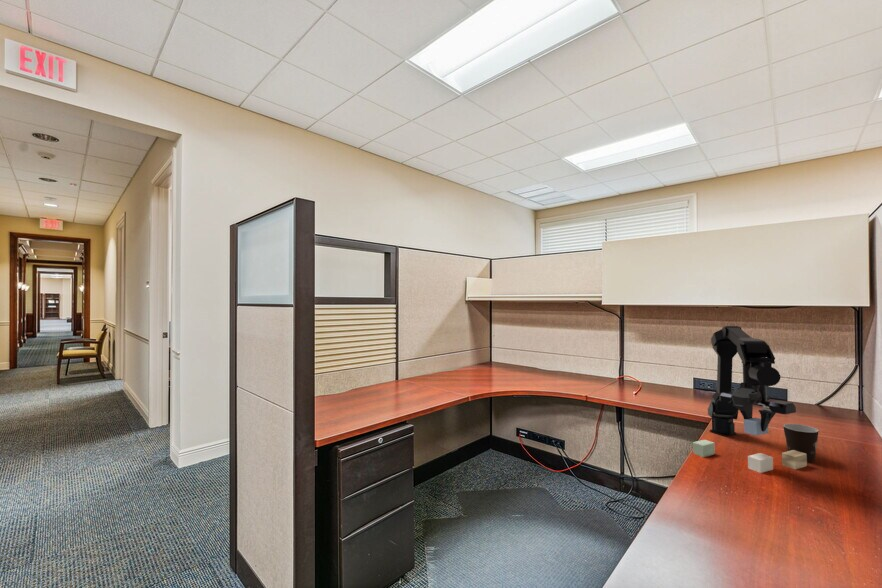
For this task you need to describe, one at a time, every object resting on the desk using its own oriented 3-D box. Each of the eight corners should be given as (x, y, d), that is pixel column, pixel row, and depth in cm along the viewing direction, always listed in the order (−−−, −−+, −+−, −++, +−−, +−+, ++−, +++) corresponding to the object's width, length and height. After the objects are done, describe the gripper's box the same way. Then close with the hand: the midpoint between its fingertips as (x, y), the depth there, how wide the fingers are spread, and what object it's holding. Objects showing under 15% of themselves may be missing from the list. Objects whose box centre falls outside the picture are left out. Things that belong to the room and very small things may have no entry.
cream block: (748, 468, 123) (747, 456, 123) (760, 465, 125) (760, 452, 125) (760, 473, 119) (760, 460, 119) (773, 469, 122) (772, 457, 122)
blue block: (744, 432, 124) (743, 419, 124) (756, 429, 126) (755, 417, 126) (756, 435, 121) (756, 422, 121) (768, 433, 123) (768, 420, 123)
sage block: (693, 453, 135) (692, 442, 135) (704, 450, 137) (704, 439, 137) (703, 457, 132) (702, 445, 132) (714, 454, 134) (714, 442, 134)
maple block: (782, 465, 124) (781, 452, 124) (793, 462, 127) (793, 449, 127) (795, 469, 121) (795, 457, 121) (806, 466, 123) (806, 453, 123)
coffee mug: (807, 465, 124) (806, 433, 124) (777, 454, 132) (776, 425, 132) (832, 460, 127) (831, 429, 127) (802, 450, 135) (801, 421, 135)
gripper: (707, 377, 130) (709, 424, 129) (773, 387, 112) (775, 442, 112) (729, 374, 134) (731, 420, 133) (795, 384, 117) (798, 437, 116)
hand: (756, 429), depth 124 cm, fingers closed on blue block, 3 cm apart
